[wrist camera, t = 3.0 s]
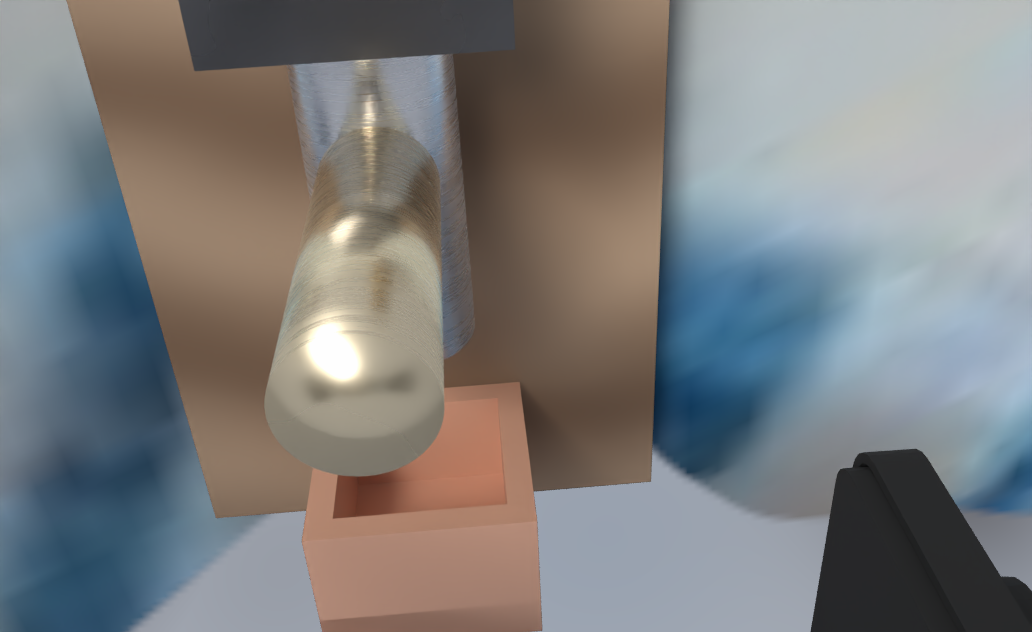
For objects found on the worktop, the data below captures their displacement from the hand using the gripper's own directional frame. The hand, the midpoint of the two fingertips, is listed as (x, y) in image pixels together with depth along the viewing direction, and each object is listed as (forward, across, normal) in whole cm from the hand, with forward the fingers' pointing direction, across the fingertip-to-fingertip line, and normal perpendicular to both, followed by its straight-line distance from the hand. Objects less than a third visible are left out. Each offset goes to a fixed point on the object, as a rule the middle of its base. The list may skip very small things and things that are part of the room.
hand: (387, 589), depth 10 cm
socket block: (+13, +1, +9) cm, 16 cm away
